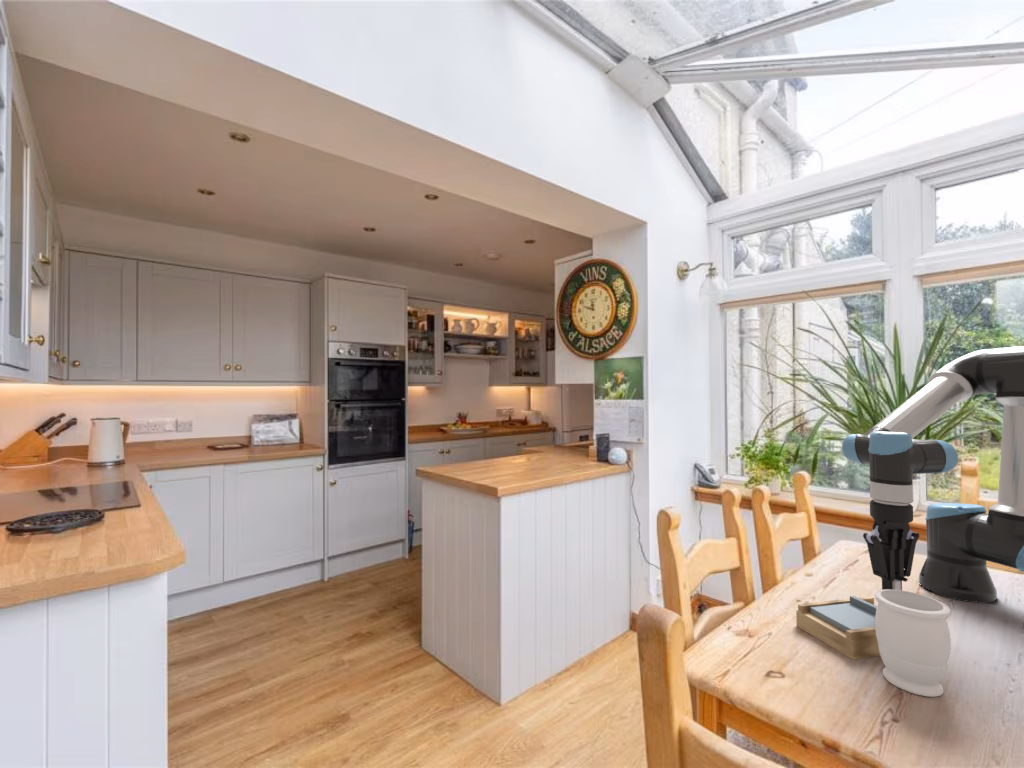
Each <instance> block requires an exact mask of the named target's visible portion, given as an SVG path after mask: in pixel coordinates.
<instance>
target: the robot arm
mask: <svg viewBox="0 0 1024 768" xmlns="http://www.w3.org/2000/svg"><path fill="white" fill-rule="evenodd" d="M980 394H995V400H996V401H997V402H999V403H1000V404H1001V405H1002V407H1003V414H1002V415H1003V417H1002V428H1001V445H1000V446H1001V447H1000V462H999V478H998V480H999V481H998V495H997V502H996V503H995V504H993V505H991V506H989V507H988V512H987V509H986V507H985V506H983V505H979V504H974V503H973V504H972V503H955V502H944V503H943V502H940V503H939V502H937V503H932V504H929V505H928V506H927V507H926V515H925V518H924V519H925V521H926V525H925V526H926V559H925V561H924V562H923V565H922V567H921V569H920V572H919V575H918V583H920V584H921V585H922V586H923V587H925V588H926V589H925V588H924V589H925V590H927V589H928V590H927V591H929V590H931V591H933V592H932V593H934V592H935V594H936V593H937V595H939V594H940V596H943V597H946V598H950V599H954V598H955V599H954V600H958V599H960V601H964V600H967V601H966V602H970V601H977V602H976V603H980V602H989V603H994V602H996V601H997V600H996V599H998V595H997V594H998V592H997V588H996V587H995V585H994V582H993V579H992V576H991V574H990V572H989V570H988V567H987V562H989V563H993V564H997V565H1001V566H1005V567H1009V568H1012V569H1015V570H1018V571H1020V572H1023V573H1024V345H1019V346H1009V347H1008V346H1007V347H997V348H983V349H979V350H975V351H973V352H969V353H967V354H965V355H962V356H960V357H958V358H955V359H954V360H951V362H949V363H947V364H945V365H943V366H942V367H940V369H937V370H936V371H935V372H934V373H933V374H932V375H931V376H930V377H929V380H928V383H927V384H926V385H924V386H923V387H922V388H921V389H919V390H918V391H916V393H914V394H913V395H911V396H910V397H909V398H908V399H907V400H906V401H904V402H903V403H902V404H901V405H899V406H898V407H897V408H895V409H894V410H892V411H891V412H890V413H889V414H888V415H887V416H885V417H884V418H883V419H881V420H880V421H879V422H877V423H876V424H875V425H873V427H871V428H870V429H869V430H867V431H866V432H865V433H852V434H848V435H847V436H846V437H845V438H844V439H843V442H842V444H841V450H842V451H841V452H842V453H843V456H844V457H845V459H847V461H850V462H852V463H856V464H860V465H863V466H864V465H865V466H866V465H867V466H869V497H870V499H871V500H870V501H869V515H870V517H871V518H872V519H873V525H872V528H871V529H872V530H871V531H870V532H869V533H867V532H864V533H863V535H862V537H863V539H864V541H865V542H866V545H867V550H868V555H869V559H870V564H871V568H872V573H873V575H874V576H877V577H879V578H881V590H884V589H893V590H902V591H903V582H908V580H909V579H908V578H907V577H910V576H911V573H912V567H913V561H914V555H915V552H916V551H915V550H916V545H917V542H918V540H919V538H920V533H918V532H915V531H913V530H912V529H911V526H910V524H911V523H913V521H914V506H913V505H912V503H914V482H913V476H914V475H918V474H921V475H922V474H923V475H924V474H934V475H938V474H942V473H948V472H950V471H953V469H955V467H956V466H957V464H958V463H959V453H958V451H957V449H956V448H955V447H954V446H953V445H952V444H951V443H949V442H947V441H945V440H940V439H933V438H931V439H930V438H928V439H918V438H917V439H915V437H916V436H917V435H919V434H920V433H921V432H922V431H924V430H925V429H926V428H927V427H929V426H930V425H931V424H933V422H935V421H936V420H937V419H939V418H940V417H941V416H942V415H943V414H945V413H946V412H947V411H948V410H949V409H951V408H952V407H953V406H955V405H956V404H957V403H962V402H965V401H967V400H970V398H972V397H973V396H976V395H980ZM909 523H910V524H909ZM920 584H919V585H920ZM921 585H920V586H921ZM922 586H921V587H922ZM923 587H922V588H923ZM931 591H930V592H931ZM995 600H996V601H995ZM993 601H994V602H993Z"/></svg>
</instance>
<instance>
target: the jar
mask: <svg viewBox="0 0 1024 768" xmlns="http://www.w3.org/2000/svg"><path fill="white" fill-rule="evenodd" d="M874 600H876V602H878V604H877V605H876V606H877V609H876V615H875V631H876V637H877V641H878V647H879V652H880V655H881V656H880V658H881V661H882V662H883V664H884V666H885V667H884V668H883V670H882V675H883V677H884V678H885V679H886V680H887V681H888V682H889V683H890V684H892V685H893V686H895V687H897V688H899V689H900V690H903V691H906V692H908V693H911V694H914V695H917V696H921V697H927V698H928V697H931V698H934V697H936V698H937V697H940V696H942V695H943V694H944V692H945V691H944V688H943V685H942V684H941V682H942V681H943V680H944V678H945V676H946V674H947V671H948V665H949V661H950V657H951V650H952V645H951V644H952V643H951V641H952V639H951V633H950V627H949V624H948V621H947V618H949V617H950V615H951V608H950V607H949V606H948V605H947V604H945V603H944V602H942V601H940V600H937V599H935V598H932V597H931V596H927V595H924V594H921V593H916V592H913V591H908V590H903V589H902V590H893V589H884V590H882V589H880V590H879V589H878V590H876V591H875V592H874Z"/></svg>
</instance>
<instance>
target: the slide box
mask: <svg viewBox="0 0 1024 768" xmlns="http://www.w3.org/2000/svg"><path fill="white" fill-rule="evenodd" d="M859 598H860V599H862V600H864V601H867V602H869V603H871V604H873V605H875V606H877V605H876V604H875V597H873V596H861V597H859ZM845 603H850V598H844V599H843V598H842V599H834V600H824V601H817V602H816V601H815V602H808V603H800V604H797V609H796V610H795V611H796V622H795V623H796V627H798V628H800V629H801V630H803V631H804V632H806V633H809V635H811V636H814V637H815V638H816V639H818V640H820V641H822V642H823V643H825V644H826V645H828V646H829V647H831V648H833V649H835V650H836V651H838V652H840V653H841V654H843V655H845V657H846V656H847V657H848V658H850V659H851V660H858V659H860V660H861V659H864V658H865V659H866V658H873V657H874V658H875V657H879V656H880V657H881V655H880V652H879V647H878V641H877V637H876V631H875V627H868V628H860V629H852V630H846V632H845V631H843V630H841V629H839V628H837V627H835V626H834V625H832V624H830V623H828V622H826V621H824V620H823V619H821V618H819V617H817V616H815V615H813V614H812V613H810V607H818V606H827V605H836V604H845Z"/></svg>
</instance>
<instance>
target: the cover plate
mask: <svg viewBox="0 0 1024 768" xmlns="http://www.w3.org/2000/svg"><path fill="white" fill-rule="evenodd" d="M849 599H850V603H845V604H836V605H827V606H818V607H810V613H812V614H813V615H815V616H817V617H819V618H821V619H823V620H824V621H826V622H828V623H830V624H832V625H834V626H835V627H837V628H839V629H841V630H843V631H845V632H846V630H852V629H860V628H868V627H875V615H876V609H877V606H878V605H876V604H874V605H873V604H871V603H869V602H867V601H864V600H862V599H860V597H857V596H855V595H851V596H849ZM875 605H876V606H875Z"/></svg>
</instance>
